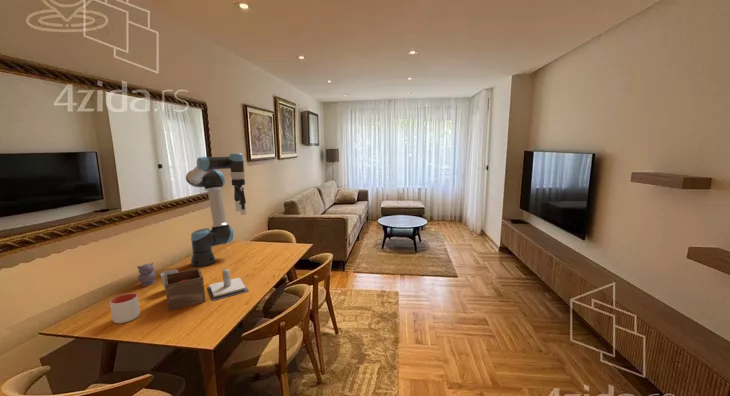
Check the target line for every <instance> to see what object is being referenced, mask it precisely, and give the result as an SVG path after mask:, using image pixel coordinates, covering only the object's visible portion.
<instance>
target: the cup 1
mask: <svg viewBox="0 0 730 396" xmlns="http://www.w3.org/2000/svg"><path fill="white" fill-rule="evenodd" d="M138 296H139V295H138V294H137V293H135V292H134V293H132V292H131V293H124V294H120V295H118V296H115V297H113V298H112V299H110V300H109V305H110V312H111V319H112V322H113V323H115V324H124V323H128V322H131V321H133V320H135V319H136V318H138V317H139V316H140V314H141V309H140V303H139V302H140V301H139V297H138Z"/></svg>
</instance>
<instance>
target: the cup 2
mask: <svg viewBox="0 0 730 396" xmlns="http://www.w3.org/2000/svg"><path fill="white" fill-rule="evenodd" d="M177 272H179V270H177V269H169V270H165V271H162V272H161V273H160V278H161V279H160V280H161V283H162V285H163V288H164V290H165V291H166V288H165V275H167V274H172V273H177Z"/></svg>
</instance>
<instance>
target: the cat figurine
mask: <svg viewBox="0 0 730 396" xmlns="http://www.w3.org/2000/svg"><path fill="white" fill-rule="evenodd" d="M153 264H154V262H151V263H146V264H143V265H138V266H136V267H137V269H138V273H139V275H137V277H138V278H137V280H138V281H139V282H140V283H141V284H140V286H141V287H149V286H148V285H150V286H152V285H154V284H156V282H155V278H156V277H157V274H156V272H155V267H154V265H153Z"/></svg>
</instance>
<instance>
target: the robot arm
mask: <svg viewBox="0 0 730 396" xmlns="http://www.w3.org/2000/svg"><path fill="white" fill-rule="evenodd" d="M244 161H245V160H244V155H243V153H241V152H239V153H233V152H231V153H230V154H229V156H201V157H198V158H197V159H196V166H195V167H194V168H193V169H192V170H188V172H186V173H187V174H186V175H185V179H186V182H187V183H188V184H189V185H190V186H192V187H195V188H204V190H205V191H206V192H207V196H208V202H209V206H210V212H211V219H212V224H213V225H211V226H210V227H211V229H210V228H208V227H207V228H200V229H197V230H194V231H193V232H192V233H191V235H190V240H191V249H192V255H191V256H192V257H191V259H190V266H191V267H194V268H196V267H197V268H200V267H206V266H210V265H212V264H214V263H215V262H216V261H217V260H216V257H215V254H214V252H213V249H212V248H213V247H215V246H220V245H225V244H226V245H227V244H230V243H232V241H233V240H234V232H235V231H234V229H233V227H232V226H230V224H229V223H228V222H227V218H226V213H225V206H224V201H223V195H222V189H223V186H225V184H226V179H225V176H224V173H223V172H222V171H221V170H229V169H230V173H229V175H230V177H231V186H233V188H234V194H233V198H234V199H233V200H234V201H235V202H234V204H235V212H240V215H241V216H244V215H247V213H246V204H247V201H246V196H245V191H244V189H245V188H244V187H243V186H244V185H246V180H245V165H244Z"/></svg>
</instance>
